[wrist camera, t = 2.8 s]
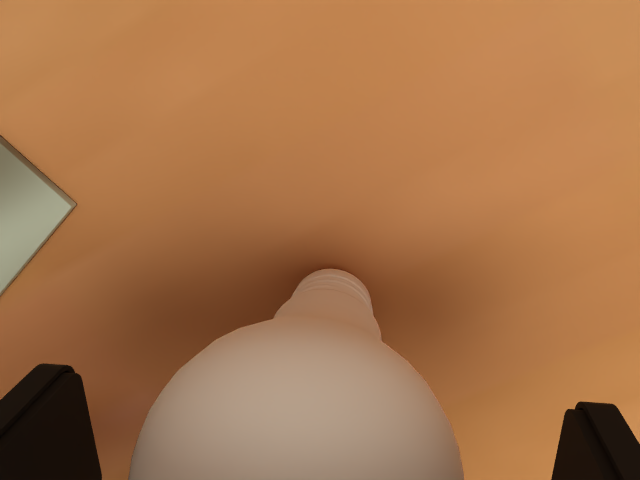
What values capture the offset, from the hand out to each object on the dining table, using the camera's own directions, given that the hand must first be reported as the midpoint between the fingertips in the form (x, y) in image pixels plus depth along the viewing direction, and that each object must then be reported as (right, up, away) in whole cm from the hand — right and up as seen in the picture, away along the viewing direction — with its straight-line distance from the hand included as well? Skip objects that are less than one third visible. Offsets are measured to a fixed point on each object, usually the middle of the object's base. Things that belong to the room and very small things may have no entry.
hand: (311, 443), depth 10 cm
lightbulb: (+1, +2, +7) cm, 8 cm away
